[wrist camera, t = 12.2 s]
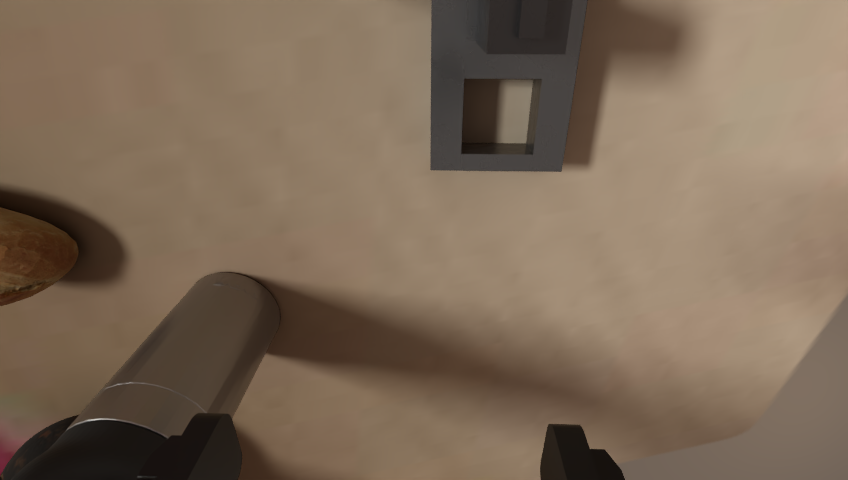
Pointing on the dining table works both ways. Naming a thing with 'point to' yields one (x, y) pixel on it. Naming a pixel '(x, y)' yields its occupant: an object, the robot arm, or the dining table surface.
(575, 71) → the gray slotted rack
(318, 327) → the dining table surface
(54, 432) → the glass bottle
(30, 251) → the bread roll
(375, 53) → the dining table surface
